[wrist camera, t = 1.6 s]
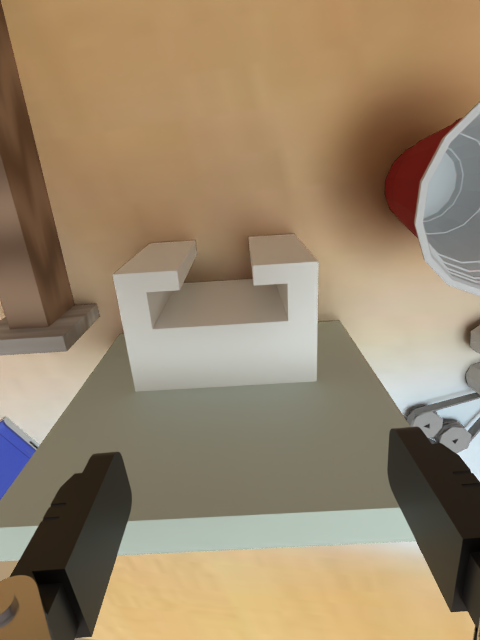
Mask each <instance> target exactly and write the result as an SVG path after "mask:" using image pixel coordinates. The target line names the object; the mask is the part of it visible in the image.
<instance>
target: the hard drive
mask: <svg viewBox="0 0 480 640" xmlns="http://www.w3.org/2000/svg"><path fill="white" fill-rule="evenodd" d="M39 446H40V445H39V444H38V443H37V442H36V441H34V440H33V439H32V438H31V437H30V436H29V435H27V434H26V433H25V432H24V431H23V430H22V429H20V428H19V427H18V426H17V425H16V424H15V423H13V422H12V421H11V420H10V419H9V418H7V417H5V418H4V419H2V420H1V421H0V500H1V499H2V497H3V496H4V494H5V493H6V492H7V490H8V489H9V487H10V486H11V485H12V483H13V482H14V480H15V479H16V478H17V476H18V475H19V473H20V472H21V471H22V469H23V468H24V467H25V465H26V464H27V462H28V461H29V460H30V458H31V457H32V455H33V454H34V453H35V451H36V450H37V448H38V447H39Z"/></svg>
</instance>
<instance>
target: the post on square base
mask: <svg viewBox="0 0 480 640" xmlns="http://www.w3.org/2000/svg"><path fill="white" fill-rule="evenodd" d="M0 301H1V304H2V307H3V310H4V313H5V316H6V317H5V318H4V319H2V320H0V355H14V354H30V353H47V352H63V351H68V350H69V349H70V347H71V346H72V345H73V344H74V343H75V342H76V341H77V340H78V339H79V338H80V337H81V336H82V335H83V334H84V333H85V331H86V330H87V329H88V328H89V327H90V326H91V325H92V324H93V323H94V322H95V321H96V320H97V319H98V318H99V317H100V315H99V310H98V306H97V304H84V305H75V304H74V300H73V296H72V292H71V288H70V284H69V280H68V275H67V271H66V267H65V263H64V259H63V255H62V251H61V247H60V243H59V238H58V234H57V230H56V226H55V222H54V218H53V214H52V210H51V206H50V201H49V197H48V193H47V189H46V185H45V181H44V177H43V173H42V169H41V164H40V160H39V156H38V152H37V148H36V144H35V140H34V136H33V132H32V127H31V123H30V119H29V115H28V111H27V107H26V103H25V99H24V95H23V90H22V86H21V82H20V78H19V74H18V70H17V66H16V62H15V58H14V53H13V49H12V45H11V41H10V37H9V33H8V29H7V25H6V21H5V16H4V12H3V8H2V4H1V0H0Z"/></svg>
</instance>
